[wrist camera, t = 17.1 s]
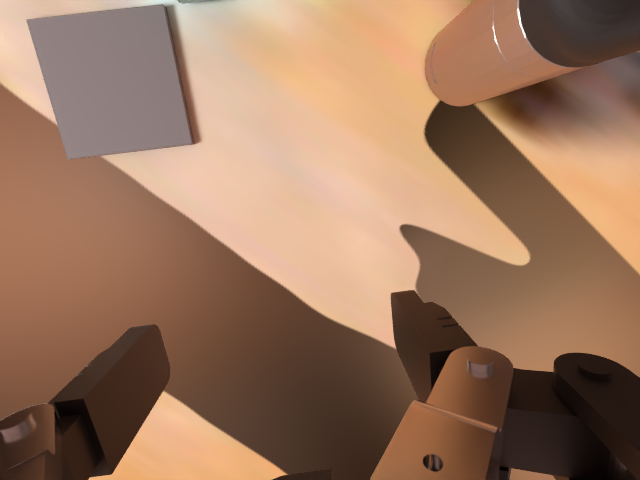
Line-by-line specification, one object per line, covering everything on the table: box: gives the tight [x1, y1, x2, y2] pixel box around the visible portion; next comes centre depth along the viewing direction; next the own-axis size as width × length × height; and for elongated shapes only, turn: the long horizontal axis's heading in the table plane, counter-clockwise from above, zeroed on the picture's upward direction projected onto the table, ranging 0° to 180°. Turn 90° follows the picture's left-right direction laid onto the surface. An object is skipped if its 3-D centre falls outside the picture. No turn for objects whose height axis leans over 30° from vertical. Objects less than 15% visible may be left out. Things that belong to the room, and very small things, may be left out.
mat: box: [27, 4, 194, 159], centre depth 37 cm, size 14×14×1 cm
